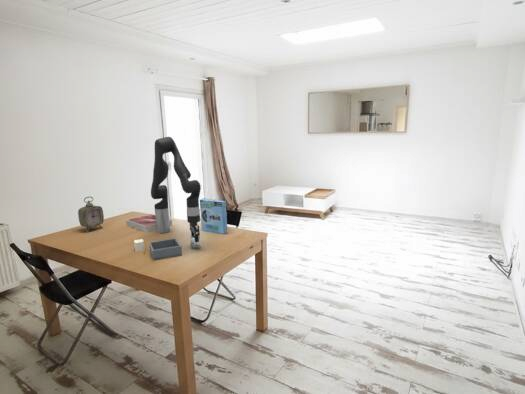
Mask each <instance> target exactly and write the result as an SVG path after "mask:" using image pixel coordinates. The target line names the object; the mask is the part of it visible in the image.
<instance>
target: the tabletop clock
mask: <svg viewBox="0 0 525 394" xmlns="http://www.w3.org/2000/svg"><path fill="white" fill-rule="evenodd" d="M89 198H91V199H92V200H87V201H85V200H86V199H89ZM93 200H94V198H93V197H92V196H86V197H85V198H84V199H83V202H84V203H86V204H85V206H82V207H80V208H79V209H78V210H77V211H78V212H77V213H78V214H77V215H78V221H79V225H80V226H81V227H85V228H86V233H89V230H90V229H91V230H92V229H93V228H95V227H97V226H99V228H100V229H102V228H103V226H101V225H102V224H104V220H105V218H104V210H103V208H102V206H99V205H95V204H94V203H93Z"/></svg>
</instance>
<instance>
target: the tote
mask: <svg viewBox="0 0 525 394" xmlns="http://www.w3.org/2000/svg"><path fill="white" fill-rule="evenodd" d="M148 245H149V253H150V255H151V258H152V260H153V261H157V260H163V259H168V258H174V257H175V258H176V257H178V256H179V257H180V256H182V254H183V253H182V245H181V244H180V242H179V241H178V239H177V238H176V237H175V238H168V239H163V240H156V241H150V242H148Z"/></svg>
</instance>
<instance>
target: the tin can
mask: <svg viewBox="0 0 525 394" xmlns="http://www.w3.org/2000/svg"><path fill="white" fill-rule="evenodd" d="M189 239H190V249H191V250H194V251H195V250H199V249H201V236H199V242H195V236H191V235H190V238H189Z"/></svg>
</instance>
